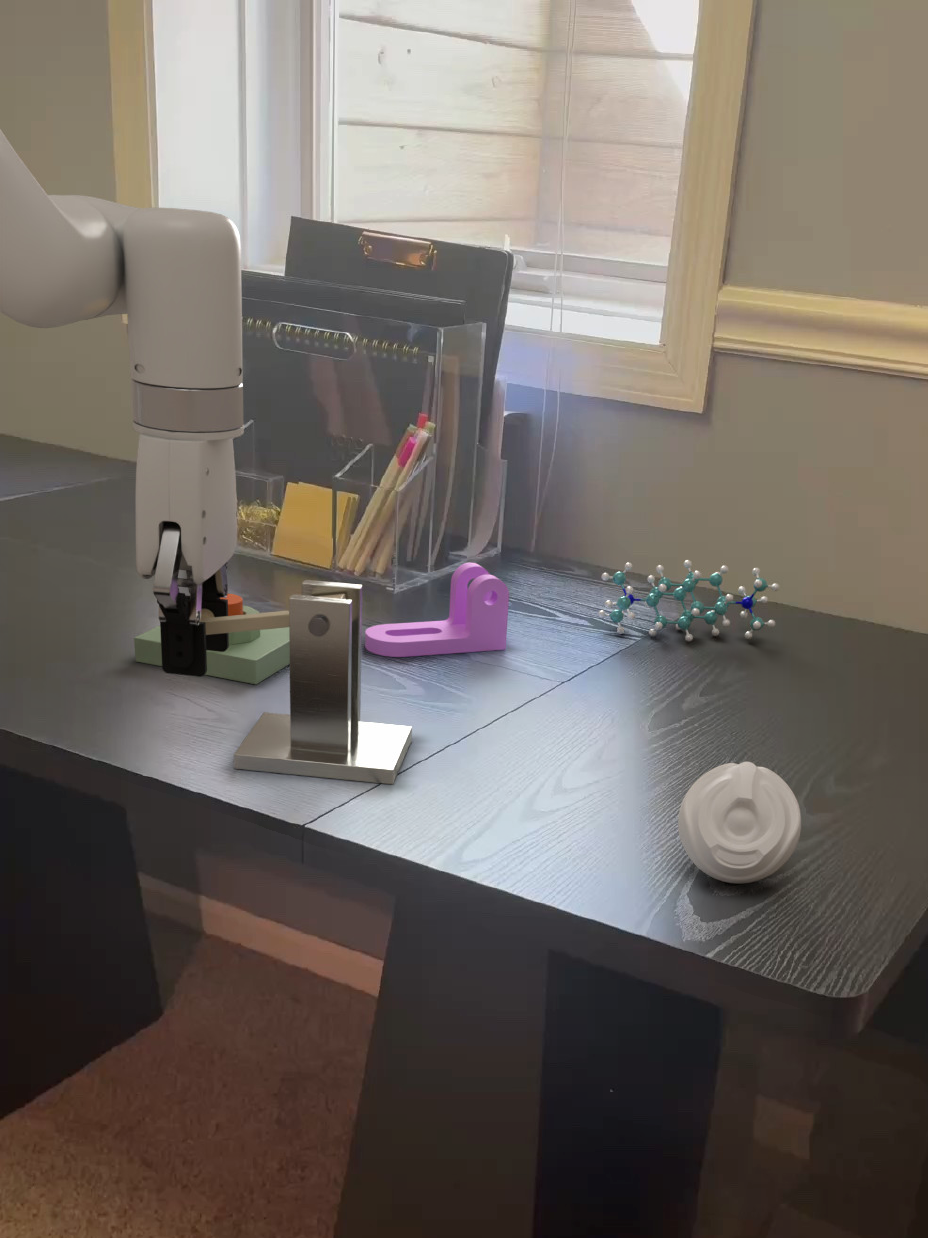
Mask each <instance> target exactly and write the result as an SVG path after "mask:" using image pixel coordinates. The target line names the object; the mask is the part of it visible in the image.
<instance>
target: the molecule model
mask: <svg viewBox="0 0 928 1238" xmlns="http://www.w3.org/2000/svg"><path fill="white" fill-rule="evenodd" d="M683 567H684V568H685V569H687V570H688V573H687V574H686V577H685V579H684V580H683V582H682V583H673V582H672V580H671V579H670V578H669V577H665V576H664V571H665V568H664V565H662V564H661V565H660V564H659V565H657V566H656V567H655V571H656V573H657V574H660V577H661V578H660V579H659V580H658V582H657V586H656V585H655V581H656V577H655V576H654V575H652V574H649V575H648V576H647V582H648V583H649V584H651V586H652V588H651V589H650V591H649V594H647V595H646V598H635V596H634V595H633V593H634V590H635V589H634V588H633V586H630V585H628V586H627V587H626V588H625V585H624V584H625V582H626V581H627V575H626V573H627V571H628V572H629V571H631V570H632V569H633V564H632V563H631V562H626V563H625V564H624V570H623V571H617V572H615V573H613V575H610V574H609V573H608V572H603V573H602V574H601V576H600V578H601V580H602V581H604V582H606V581H608V580H609V579H610V580H612V582H613V584H615V585H616V586H620V587H621V589H622V592H623V595H622V596H620V597H619V598H617V602H612V601H611V600H605V602H604V608H606V609H611V608H612V607H613V606H617V607H618V609H617V608H616V609H613V610H612V611H611V612H610V613H606V611H605V610H603V609H601V610H599V611H598V613H597V616H598V618H600V619H604V618H605V617H609V619H610V620H611V621H612V622H613V623H616V624H617V626H618V627H617V628H616V632H617V634H618V635H623V634H624V633H625V628H624V626H621V622H622V621H623V619H624V617H625V612H624V611H625V610H626V612H627V614H626V618H627V619H628V620H629V621H633V620H635V618H636V614H635V612H632V611H630V609H629V608H630V607H631V606H632V605H633V604H634V603H635V602H644V605H645V607H646V608H653V609H654V612H655V614H656V617H654V620H653V625H654V628H651V629H649V630H648V635H649V636H650V637H655V636H656V635H657V631H660V630H662V629H664V628H666V627H667V625H672V624H673V625H675V629H676V630H677V631H682V630H684V631H685V634H686V635H685V637H684V640H685V641H686V642H688V643H690V642H692V641H693V639H694V636H693V634H691V633H689V628H690V626H691V623H692V622H693V621H694V619H701V620H704V622H705V623H706V624H707V625H711V627H712V629H711V635H712V636H713V637H718V636H719V635H720V630H719V629H718V628H716V625H715V624H716V623H717V621H718V616H721V617H722V619H723V620H722V622H721V624H722V626H723V627H724V628H728V627H729V626H730V625H731V621H730V620H729V619H728V618H726V615H725V614H727V613H728V609H729V607H730V605H741V608H742V609H744V610H743V611H741V612H740V614H739V616H740V618H741V619H742V620H745V619H747V618H748V615H749V614H748V611H749V613H750V615H751V617H752V619H751V620H750V622H749V625H750V628H751V629H750V630H748V631H746V632H745V633H744V638H745V639H746V640H751V639H752V638H753V636H754V635H753V632H754V631H760V630H761V629H763V627H764V626H768V628H774V627H775V626H776V621H775V620H774V619H769V620H768V621H767V622H764V620H763V618H761V617H760V616H755V613H754V612H753V610H752V609H753V608H754V607H755V606H756V605H757V603H761V604H762V605H766V604H768V602H769V598H768V597H767V596H765V595H763V596H761V597H760V599H756V597H754V596H755V595H756V594H757V593H758V592H760V593H761V592H764V591H765V590H766V589H767V588H770V589H771V590H772V592H778V591H779V590H780V585H779V584H778V583H776V582H775V583H773V584H768V582H767V580H766V579H765V578H763V577H760V574H761V569H760V568H759V567H754V568H753V569H752V570H751V573H752V575H753V576H755V577H756V579H755V580H754V582H753V588H754V591H753V592H752V594H750V595H747V594H746V591H747V589H746V587H745V586H742V585H741V586H739V587H738V588H737V593H738V594H740V595H743V598H742V599H741V601H735V600H734V595H733V594H731V593H728V594H726V595H723V593H722V590H721V587H720V586H721V585H722V583H723V576H722V575H724V574H727V573H728V572H729V567H728V565H722V566H720V572H719V571H716V572H714V573H712V574H710V576H709V578H708V577H702V573H701V571H699V570H695V571H692V569H691V567H692V561H691V560H689V559H685V561H684V562H683ZM700 581H702V582H703V581H704V582H707V581H708V582H709V584H710V586H713V587H716V588H717V591H718V594H719V596H718V598H717V599H716V603H715V604H714V606H705V605H704V603H703V602H702V601H701V600H697V599H696V598H695V594H694V592H693V591H695V589H696V585H698V584H699V582H700ZM672 587H677V588H675V589H674V591H673V592H668V591H670V589H671V588H672ZM687 593H690V595H691V598H692V601H693V602H692V603H691V604H690V609H687V607H686V604H685V601H684V600H685V599H686V597H687ZM663 596H673V598H674V600H676V601H678V602H681V605H682V608H683V611H682V613H681V614H680V617H679V618H678V619H677V621H676V620H675V621H674V620H673V621H672V620H668V618H667V617H666V616H665V615H661V614H660V613H659V610H658V608H657V606H658V605H659V603H660V600H661V599H662V598H663ZM704 610H709V611H707V612H705V614H704V615H701V614H702V613H703V612H704Z"/></svg>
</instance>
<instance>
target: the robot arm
mask: <svg viewBox="0 0 928 1238" xmlns="http://www.w3.org/2000/svg"><path fill="white" fill-rule="evenodd" d="M240 236H241V235H240V233H239V230H238V227H237V226H236V225H235V223H234V222H233V221H232V220H231V219H230V218H229V217H228V216H225V215H223V214H222V213H217V212H213V211H208V210H200V209H199V210H198V209H191V208H189V209H188V208H178V207H177V208H176V207H143V208H142V207H136V206H131V205H127V204H123V203H119V202H115V201H112V200H108V199H103V198H99V197H94V196H88V195H82V194H48V193H47V192H46V190H45V189H44V188H43V187H42V185H41V184H40V183H39V182H38V181H37V178H36V177H35V176H34V175H33V173H32V172H31V171H30V170H29V168H28V166H27V165H26V164H25V163H24V161H23V160H22V159H21V158H20V156H19V154H18V153H17V152H16V150H15V149H14V147H13V146H12V144H11V143H10V141H9V140H8V138H7V137H6V135H5V134H4V133H3V131H2V129H1V128H0V313H2V314H3V315H5V316H6V317H8V318H10V319H11V320H13V321H15V322H16V323H19V324H22V325H25V326H27V327H31V328H37V329H53V328H60V327H63V326H67V325H70V324H74V323H78V322H81V321H89V320H92V319H93V320H94V319H97V318H102V317H107V316H115V315H126V318H127V319H126V320H127V336H128V337H127V338H128V357H129V374H130V375H129V376H130V393H131V394H130V395H131V414H132V429H133V430H134V431H135V432H136V433H138V434H139V436H138V444H137V455H136V465H135V466H136V468H135V496H134V497H135V499H134V500H135V501H134V502H135V507H134V508H135V516H134V517H135V567H136V568H135V569H136V572H137V574H138V576H139V577H140V578H141V579H144V580H150V579H151V578H152V577H154V578H153V583H152V594H153V596H154V597H155V599H156V603H157V604H158V620H159V626H160V631H161V653H162V666H161V669H162V671H163V672H164V673H165V674H171V675H180V676H189V677H200V678H201V677H205V676H206V675H205V673H206V672H207V653H206V650H210V651H219V652H224V651H226V650H227V649H228V647H229V633H221V634H210V635H206V622H200V620H201V609H208V610H210V611H211V612H212V613H213V614H214V617H224V616H228V600H226V599H220V598H226V597H227V594H228V593H229V585H228V577H227V576H228V575H227V569H228V566H227V565H228V561H229V560H230V559H231V558H233V556H234V554H235V551H236V548H237V542H238V541H237V539H238V498H237V495H238V494H237V477H236V463H235V462H236V461H235V450H234V441H233V440H234V439H235V438H236V439H237V438H238V437H241V436H242V435H244V434H245V429H244V428H245V427H244V425H245V422H244V377H243V376H244V374H243V373H244V372H243V371H244V370H243V368H244V367H243V296H242V295H243V294H242V293H243V291H242V289H243V288H242V248H241V247H242V246H241V237H240ZM180 571H185V574H186V578H185V577H184V578H183V577H179V572H180ZM180 588H188V593H189V595H187V594H186V593H185V592H180Z"/></svg>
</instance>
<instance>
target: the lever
mask: <svg viewBox="0 0 928 1238" xmlns="http://www.w3.org/2000/svg"><path fill="white" fill-rule="evenodd" d="M315 597H326V598H336V599H346V597H345V594H336V595H326V596H315ZM200 622H206V635H210V634H221V633H232V632H242V631H253V630H264V629H275V628H286V627H289V609H288V610H279V611H267V612H259V613H256V614H246V615H235V616H224V617H214V614H213V613H212V612H211V611H210V610H208V609H201V620H200Z"/></svg>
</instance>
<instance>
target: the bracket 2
mask: <svg viewBox="0 0 928 1238" xmlns="http://www.w3.org/2000/svg"><path fill="white" fill-rule="evenodd" d="M471 580H472V581H471ZM470 581H471V583H470V584H469V582H470ZM468 585H469V586H468ZM449 590H450V592H449V614H448V617H447V618H446V619H444V620H433V621H432V620H429V621H415V622H414V621H413V622H399V623H382V624H376V625H372V626H369V627H368V628H366V629H365V632H364V633H365V636H364V637H365V639H364V647H365V649H366V651H368V652H370V653H372V654H374V655H379V656H384V657H392V658H406V657H407V658H408V657H421V656H422V657H423V656H434V655H436V656H437V655H447V654H461V653H462V654H463V653H475V652H490V651H502V650H504V651H505V650H507V649H506V648H507V633H508V619H509V605H510V590H509V588H508V586H507V584H506V583H505V582H503V581H502V580H501V579H500V578H498V577H497V576H495V575H494V574H490V572H489V571H488V570H487V569H486V568H485V567H483V566H481V565H480V564H478V563H476V562H464V563H462V564H461V565H459V566H458V567H457V568H456V569H455V570H454V572H453V573H452V576H451V579H450V589H449Z"/></svg>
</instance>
